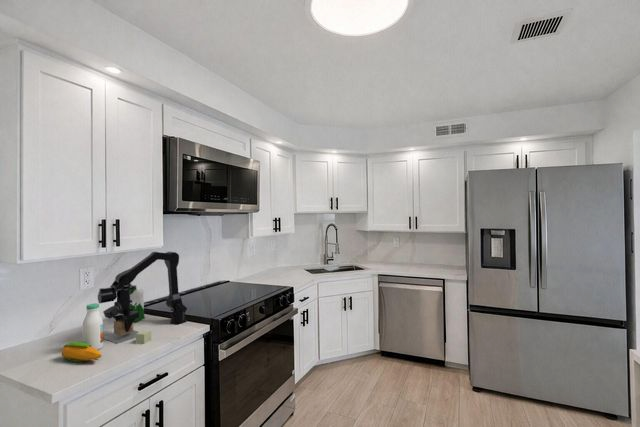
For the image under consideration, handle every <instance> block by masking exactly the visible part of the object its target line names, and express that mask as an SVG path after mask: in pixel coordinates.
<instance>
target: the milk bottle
mask: <svg viewBox="0 0 640 427" xmlns="http://www.w3.org/2000/svg"><path fill="white" fill-rule="evenodd" d="M85 307H86V314H85V316H84V318H83V321H82V326H81V327H82V328H81V329H82V331H81V332H82V333H81V334H82V335H81V338H82V339H81V340H82V341H81V342H85V343H88V344H89V345H91V347H93V348H95V349H96V350H98V351H99V350H101V349H102V348H103V347H104V339H103V337H104V319H103V318H102V315H101V314H100V311H99V309H100V303H90V304H87V305H86V306H85Z"/></svg>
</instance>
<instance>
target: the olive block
mask: <svg viewBox="0 0 640 427" xmlns="http://www.w3.org/2000/svg"><path fill="white" fill-rule="evenodd" d="M138 332H139V333H137V334H136V338H135V344H136V343H137V344H138V345H145V344H147V343H149V342H151V341H152V332H151V330H141V331H138ZM137 344H136V345H137Z"/></svg>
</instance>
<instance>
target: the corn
mask: <svg viewBox="0 0 640 427" xmlns="http://www.w3.org/2000/svg"><path fill="white" fill-rule="evenodd" d="M60 353H61V357H63V358H64V359H65V360H68V361H72V362H77V363H78V362H79V363H83V361H92V360H96V359H100V358H101V357H102V352H101V351H99V350H96V349H95V348H93V347H91V345H89V344H88V343H85V342H82V341H81V340H80V341H78V340H77V341H70V342H68V343H67V344H65V345H63V346H62V349H61V351H60Z"/></svg>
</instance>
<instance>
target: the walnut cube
mask: <svg viewBox="0 0 640 427" xmlns="http://www.w3.org/2000/svg"><path fill="white" fill-rule="evenodd" d="M133 330H134V323H133V324H132V326H131V328H130V330H129V331H128V332H126V329H125V322H124V321H123V320H122V319H121V320H117V321H116V320H115V321H113V334H117V335H120V336H122V335H125V334H128V333H131V332H133Z"/></svg>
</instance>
